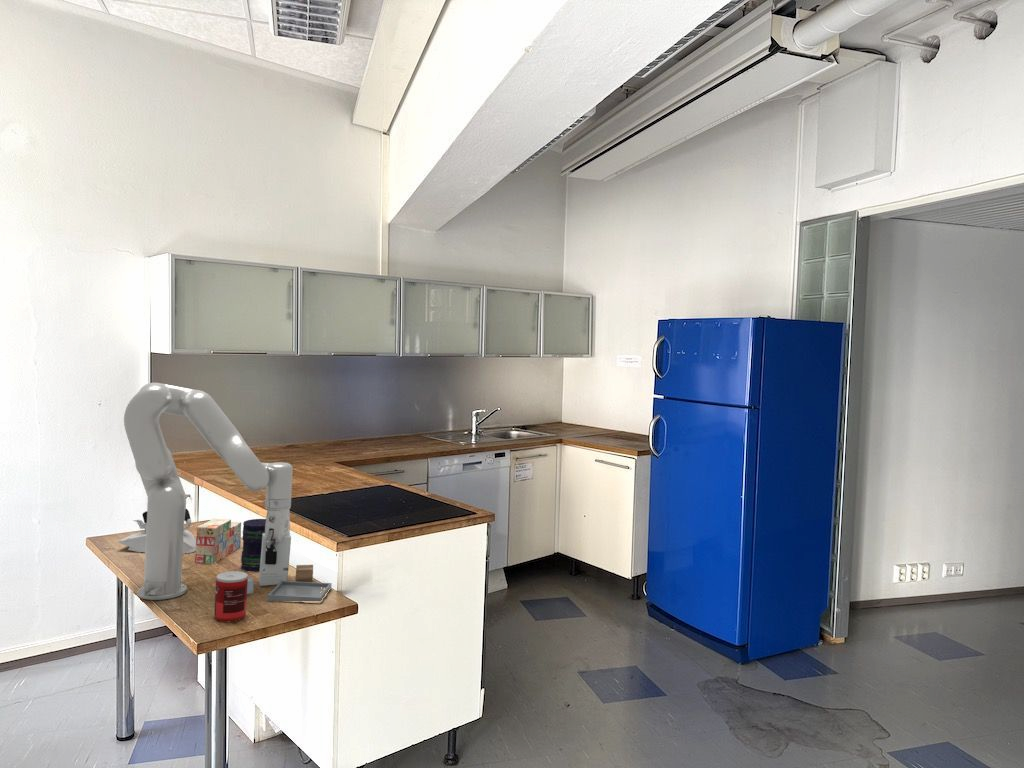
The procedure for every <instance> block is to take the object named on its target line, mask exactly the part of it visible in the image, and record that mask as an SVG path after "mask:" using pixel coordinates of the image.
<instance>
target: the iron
mask: <svg viewBox="0 0 1024 768" xmlns="http://www.w3.org/2000/svg"><path fill="white" fill-rule="evenodd" d="M142 519H143V520H141V519H134V520H133V522H135V523H136V524H137V525H138V526H139V529H140V530H141V529H142V530H141V531H140V532H139V533H132V534H130V535H129V536H126V537H123V538H122V539H120V540H118V543H119V544H121V545H124V546H128V547H129V548H128V549H127V550H128V551H133V552H136V553H141V552H145V549H146V527H147V511H144V512H143V513H142ZM184 522H185V526H184V535H183V555H184V554H185V553H186V554H192V553H194V552H196V538H195V536H194V535H193V533H192V532H191V531H190V530H188V529H189V528H190V527H191V525H192V518H191V515H190V512H189V510H188V509H187V508H186V510H185V519H184Z"/></svg>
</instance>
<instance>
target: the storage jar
mask: <svg viewBox="0 0 1024 768" xmlns="http://www.w3.org/2000/svg"><path fill="white" fill-rule="evenodd" d="M265 525H266V518H253V519H248V520H247V519H246V520H245V521H243V527H242V536H241V539H242V551H241V557H240V563H241V566H240V569H241V571H243V570H245V571H244V572H248V571H257V572H256V573H258V571H260V561H261V548H262V534H263V533H265Z"/></svg>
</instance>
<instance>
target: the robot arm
mask: <svg viewBox="0 0 1024 768" xmlns="http://www.w3.org/2000/svg"><path fill="white" fill-rule="evenodd" d="M162 413H163V414H167V415H174V416H180V417H187V419H188V420H189V422H190V423H192V425H193V426H194V428H196V430H197V431H198V432H199V434H200V435H201V436H202V437H203V439H204V440H205V441H206V443H207V444H208V445H209V446H210V448H211V449H212V450H213V451H214V452H215V453H216V454H217V455H218V456H219V457H220V458H221V459H222V460H223V461H224V463H225V464H226V465H227V466H228V467H229V468H230V469H231V471H232V472H233V473H234V474H235V476H236V477H237V479H239V480H240V481H239V482H241V483H242V485H243V487H245V489H247V490H249V491H252V492H259V491H261V490H264V489H265V499H264V500H265V501H264V509H265V510H266V516H265V517H266V518H265V519H266V525H265V541H266V542H265V543H266V556H265V564H271V565H275V564H276V561H277V551H276V547H277V542H279V543H281V542H282V541H283V540H284V537H285V536H286V535H287V534H289V533H290V531H291V530H290V528H291V527H290V526H291V517H290V515H291V513H290V511H291V510H290V509H291V506H292V493H293V491H292V489H293V488H292V487H293V471H294V470H293V469H294V468H293V465H292V464H291V463H288V462H281V461H280V462H279V461H278V462H277V461H276V462H261V461H260V459H259V458H258V457H257V455H256V454H255V453H254V452H253V451H252V449H251V448H250V447H249V445H248V444H247V442H246V441H245V439H244V438H243V436H242V435H241V433H240V432H239V431H238V429H237V427H236V426H235V425H234V424H233V423H232V421H231V420H230V419H229V417H228V416H227V415H226V414H225V413H224V411H223V410H222V409H221V407H220V406H219V405H218V403H217V402H216V401H215V399H214V398H213V397H212V396H211V395H210V394H209V393H207V392H205V391H204V390H200V389H195V388H194V389H193V388H188V387H182V386H177V385H170V384H167V383H161V382H149V383H146V384H144V385H143V386H142V387H141V388H140V389H139V390H138V391H137V392H136V394H135V395H134V396H133V397H132V398H131V399H130V401H129V402H128V404H127V406H126V407H125V411H124V413H123V415H124V416H123V426H124V430H125V433H126V436H127V437H126V438H127V439H128V443H129V447H130V449H131V453H132V456H133V460H134V464H135V465H134V466H135V468H136V471H137V472H138V474H139V476H140V478H141V482H142V485H143V487H144V490H145V493H146V496H147V503H146V505H147V508H146V509H147V527H146V549H145V553H144V555H145V556H144V567H143V568H144V571H143V572H144V573H143V586H141V587H139V588H138V589H137V590H136V596H137V597H138V598H139V599H142V600H146V601H147V600H149V601H158V600H159V601H161V600H167V599H174V598H177V597H181V596H182V595H185V594H186V593H187V590H188V589H187V588H188V587H187V585H186V584H184V583H182V570H183V555H184V554H183V535H184V528H185V521H184V519H185V510H186V509H187V508H186V506H187V497H186V493H185V490H184V487H183V483H182V480H181V478H180V476H179V473H178V470H177V467H176V464H175V460H174V458H173V455H172V452H171V450H170V449H169V448H168V447H167V444H166V441H165V438H164V435H163V431H162V427H161V424H160V417H161V415H162ZM290 534H291V533H290ZM272 539H275V541H271V540H272ZM271 543H273V544H274V547H273V544H271Z"/></svg>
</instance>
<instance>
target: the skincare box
mask: <svg viewBox="0 0 1024 768" xmlns="http://www.w3.org/2000/svg"><path fill="white" fill-rule="evenodd" d="M271 541H275V539H272V540H271ZM265 542H266V541H265V533H263V534H262V548H261V561H260V572H259V574H258V582H259V587H265V586H277V585H278V584H279V583H280V582H281V581H289V580H288V579H289V565H290V555H291V544H292V536H291V533H289V534H287V535H286V536H285V537H284V540H283V541H282V542H281V543H279V542H277V547H276V551H277V561H276V564H275V565H271V564H265V556H266V543H265ZM271 544H273V543H271ZM273 547H274V544H273Z"/></svg>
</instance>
